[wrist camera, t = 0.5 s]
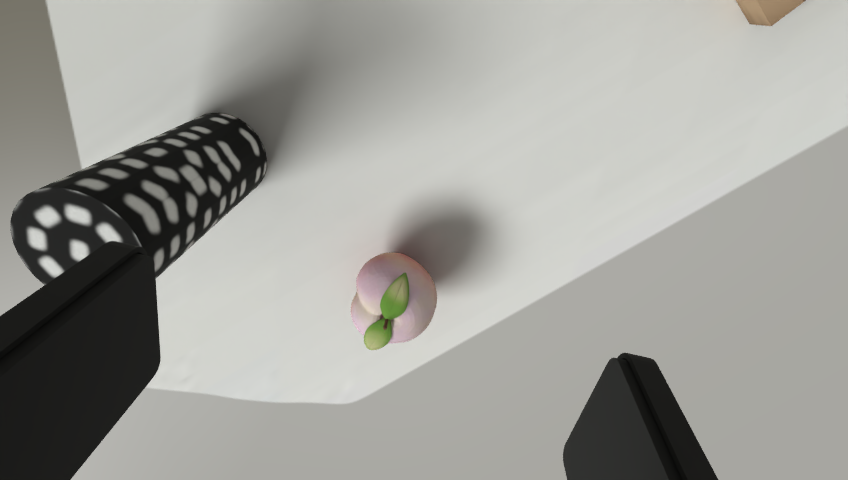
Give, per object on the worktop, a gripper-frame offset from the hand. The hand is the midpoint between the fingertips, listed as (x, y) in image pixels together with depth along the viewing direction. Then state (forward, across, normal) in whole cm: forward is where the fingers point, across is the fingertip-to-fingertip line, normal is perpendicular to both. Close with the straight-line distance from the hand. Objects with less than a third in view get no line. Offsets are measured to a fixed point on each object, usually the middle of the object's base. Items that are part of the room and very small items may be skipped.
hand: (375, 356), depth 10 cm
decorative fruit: (+36, 0, +20) cm, 42 cm away
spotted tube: (+37, +19, +12) cm, 43 cm away
